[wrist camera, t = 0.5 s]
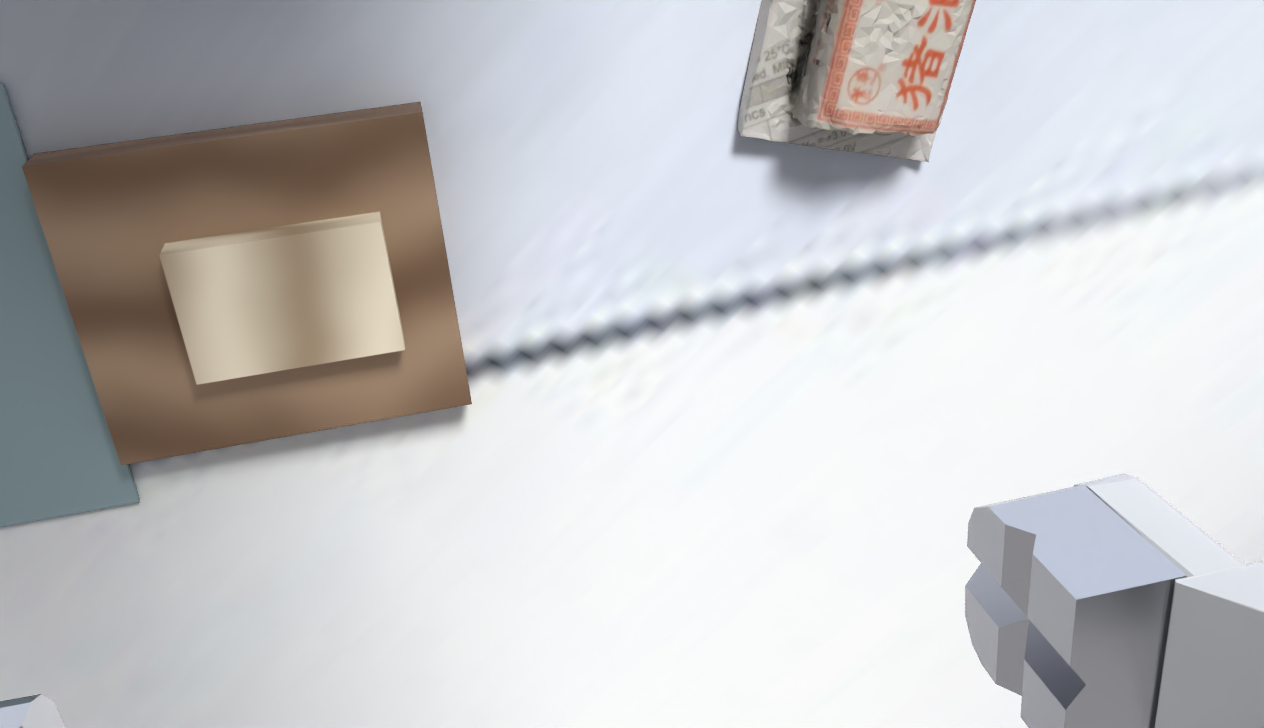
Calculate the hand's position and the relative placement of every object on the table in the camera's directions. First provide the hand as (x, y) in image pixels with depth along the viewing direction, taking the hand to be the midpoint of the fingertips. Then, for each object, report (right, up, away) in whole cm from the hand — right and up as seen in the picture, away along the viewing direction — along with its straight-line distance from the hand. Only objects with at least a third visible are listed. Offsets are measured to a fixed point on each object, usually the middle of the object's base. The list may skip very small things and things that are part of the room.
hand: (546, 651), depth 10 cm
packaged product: (+12, +21, +42) cm, 49 cm away
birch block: (-14, +6, +40) cm, 43 cm away
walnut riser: (-16, +6, +42) cm, 45 cm away
